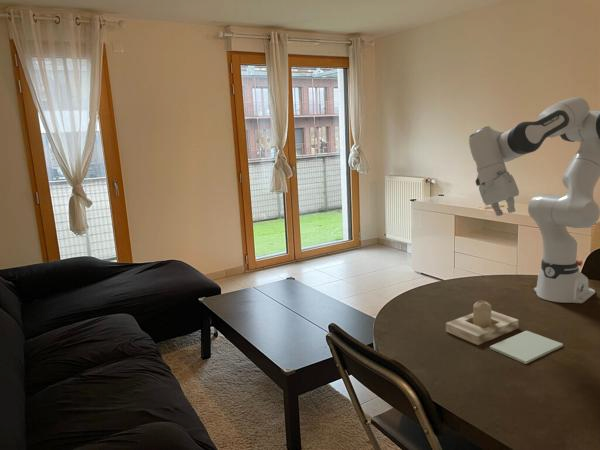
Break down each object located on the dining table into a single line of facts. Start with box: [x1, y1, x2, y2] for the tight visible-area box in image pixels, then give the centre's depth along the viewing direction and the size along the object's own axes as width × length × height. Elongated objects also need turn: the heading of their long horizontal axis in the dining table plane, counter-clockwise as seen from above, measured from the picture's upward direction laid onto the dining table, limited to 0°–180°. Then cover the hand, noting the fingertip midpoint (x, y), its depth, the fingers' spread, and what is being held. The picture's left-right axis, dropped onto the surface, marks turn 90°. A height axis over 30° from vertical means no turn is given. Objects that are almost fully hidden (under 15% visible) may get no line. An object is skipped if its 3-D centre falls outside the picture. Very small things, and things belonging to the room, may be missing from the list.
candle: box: [472, 299, 492, 328], centre depth 154 cm, size 6×6×10 cm
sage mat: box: [489, 330, 564, 365], centre depth 141 cm, size 18×12×1 cm, turn 120°
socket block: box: [445, 309, 520, 346], centre depth 155 cm, size 20×13×3 cm, turn 120°
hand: (505, 214), depth 155 cm, fingers open, 8 cm apart
